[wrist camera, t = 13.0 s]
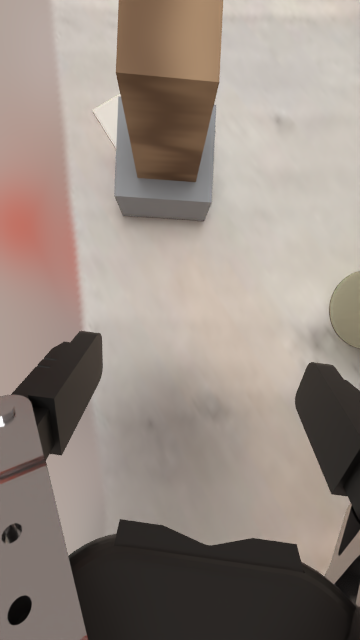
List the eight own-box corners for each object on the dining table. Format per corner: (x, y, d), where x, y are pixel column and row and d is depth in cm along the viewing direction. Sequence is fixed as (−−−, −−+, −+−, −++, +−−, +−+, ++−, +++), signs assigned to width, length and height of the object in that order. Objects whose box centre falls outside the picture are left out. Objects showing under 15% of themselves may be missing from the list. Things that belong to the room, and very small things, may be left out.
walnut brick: (198, 123, 25) (224, -23, 14) (195, 182, 25) (219, 82, 14) (139, 118, 25) (120, -35, 14) (137, 177, 25) (116, 72, 14)
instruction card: (170, 64, 30) (170, 62, 30) (209, 128, 30) (209, 127, 30) (92, 111, 30) (92, 109, 29) (132, 175, 30) (132, 174, 30)
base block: (207, 139, 30) (216, 104, 25) (203, 220, 30) (211, 202, 26) (126, 132, 30) (118, 96, 25) (122, 215, 30) (114, 195, 25)
